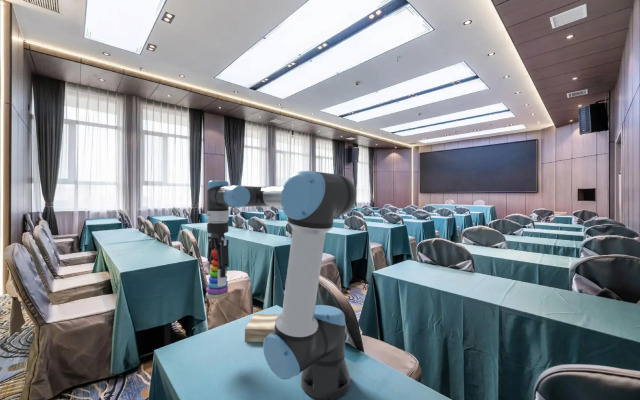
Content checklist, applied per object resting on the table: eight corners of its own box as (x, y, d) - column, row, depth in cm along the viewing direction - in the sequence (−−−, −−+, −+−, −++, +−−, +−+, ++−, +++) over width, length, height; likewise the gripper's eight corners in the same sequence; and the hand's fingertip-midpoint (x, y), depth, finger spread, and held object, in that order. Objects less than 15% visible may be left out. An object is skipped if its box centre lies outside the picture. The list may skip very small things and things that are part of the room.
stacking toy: (213, 302, 98) (214, 249, 97) (201, 297, 102) (202, 247, 102) (232, 296, 104) (233, 246, 104) (220, 291, 109) (220, 244, 108)
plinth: (279, 342, 109) (280, 329, 109) (244, 341, 109) (244, 328, 109) (285, 325, 123) (285, 314, 123) (253, 324, 123) (254, 313, 123)
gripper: (198, 220, 108) (198, 279, 108) (218, 224, 93) (218, 292, 93) (217, 219, 113) (217, 275, 113) (239, 223, 98) (238, 287, 98)
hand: (217, 283), depth 103 cm, fingers closed on stacking toy, 7 cm apart
